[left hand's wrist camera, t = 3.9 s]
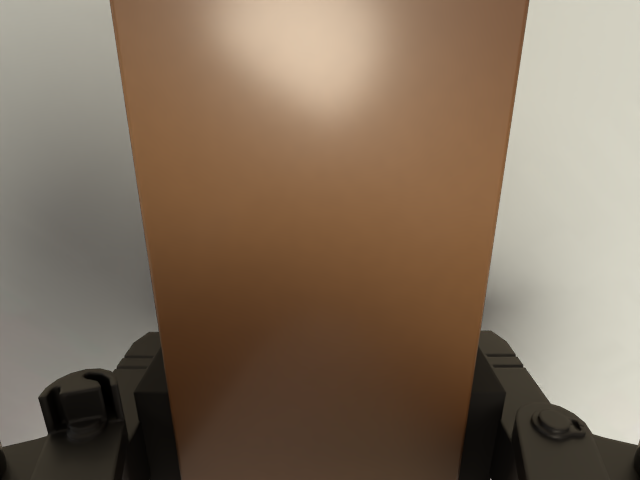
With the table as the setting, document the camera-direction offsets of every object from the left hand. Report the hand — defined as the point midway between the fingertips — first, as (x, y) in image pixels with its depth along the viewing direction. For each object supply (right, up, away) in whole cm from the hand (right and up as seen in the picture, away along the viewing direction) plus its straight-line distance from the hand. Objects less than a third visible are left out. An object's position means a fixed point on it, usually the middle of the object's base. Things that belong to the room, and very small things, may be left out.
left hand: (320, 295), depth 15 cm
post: (0, +31, -11) cm, 33 cm away
